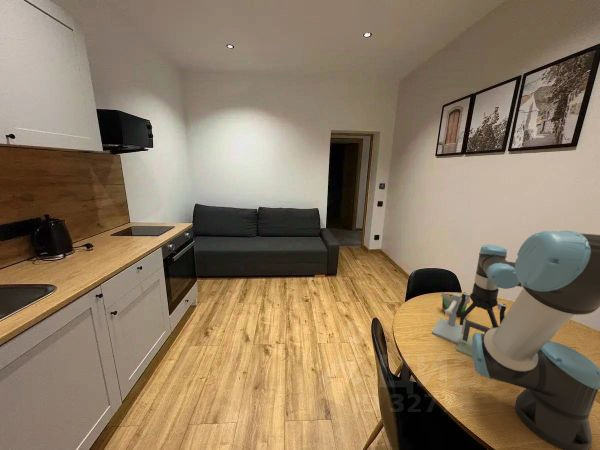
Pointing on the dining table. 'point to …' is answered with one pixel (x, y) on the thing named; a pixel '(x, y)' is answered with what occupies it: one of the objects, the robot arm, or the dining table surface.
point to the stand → (449, 323)
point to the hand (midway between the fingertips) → (475, 337)
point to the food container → (448, 300)
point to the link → (473, 325)
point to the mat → (465, 346)
